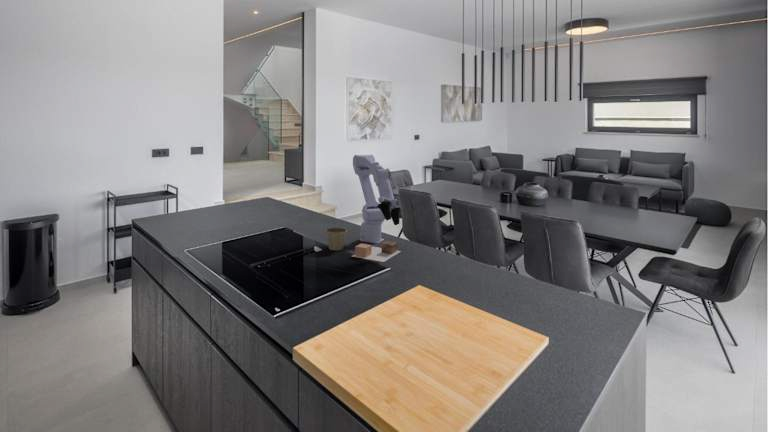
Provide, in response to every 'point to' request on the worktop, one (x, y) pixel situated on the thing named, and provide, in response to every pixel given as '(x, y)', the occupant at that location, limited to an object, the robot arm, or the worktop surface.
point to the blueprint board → (378, 255)
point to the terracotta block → (363, 250)
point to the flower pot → (336, 238)
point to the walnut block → (389, 247)
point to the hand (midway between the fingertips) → (392, 221)
